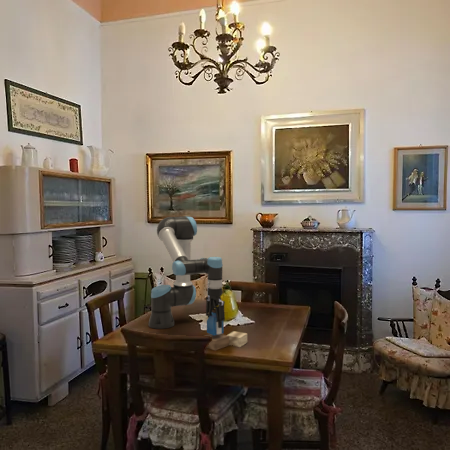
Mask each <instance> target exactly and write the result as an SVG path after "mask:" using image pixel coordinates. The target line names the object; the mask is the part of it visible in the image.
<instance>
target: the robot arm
mask: <svg viewBox="0 0 450 450" xmlns="http://www.w3.org/2000/svg"><path fill="white" fill-rule="evenodd" d="M156 228H157V229H156V234H157V237H158V239H159V240H160V241H162V242H163V245H164V247H165V249H166V250H167V253H168V254H169V256H170V258H171V260H172V265H171V269H172V273H173V275H175V281H174V282H173V285H172V286H171V285H170V284H161V285H157V286H154V287H153V288H152V289H151V290H150V291H151V293H150V297H151V298H150V300H151V301H150V302H151V304H150V305H151V314H150V317H149V320H148V327H149V328H151V329H155V330H157V329H159V330H160V329H161V330H163V329H169V328H172V327H174V326H175V320H174V317H173V313H172V308H173V307H179V306H180V307H181V306H187V305H192V304H194V302H195V301H196V298H197V290H196V289H197V288H196V286H195V285H194V283H193V282H192V281H191V275H199V274H200V275H201V274H202V275H203V274H207V287H208V288H207V296H206V297H205V302H206V304H205V316H206V317H207V319H208V318H209V316H212V309H215V310H216V315H217V321H216V334H221V333H222V321H225V319H226V317H225V315H226V313H225V300H222V298H221V296H223V258H222V257H220V256H210V257H208V258H207V257H202V258H199V259H198V258H197V259H191V252H192V251H191V250H192V245H191V244H192V243H191V242H192V241H193V240H194V237H195V236H196V235H197V233H198V225H197V221H196V220H195V218H193V217H192V216H167V217H165V218H163V219H161V220H160V221H159V223H158V225H157V227H156Z"/></svg>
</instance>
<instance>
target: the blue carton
mask: <svg viewBox="0 0 450 450" xmlns="http://www.w3.org/2000/svg"><path fill="white" fill-rule="evenodd" d="M216 321H217V315H216V310H215V308H214V309H212V316H209V318H208V317H207V320H206V333H207V334H211V335H218V334H216ZM224 321H225V320H224ZM224 321H222V333H221V334H223V335H224V331H225V330H224V329H225V328H224V326H225V324H224Z"/></svg>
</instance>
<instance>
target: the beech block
mask: <svg viewBox="0 0 450 450" xmlns="http://www.w3.org/2000/svg"><path fill="white" fill-rule="evenodd" d="M225 335H226V334H225ZM226 336H229V346H232V345H233V346H232V347H238V348H241V347H243V346H245V344H247V343H248V333H246V332H242V331H234V330H233V331H231V332H230V333H228V334H227V335H226Z"/></svg>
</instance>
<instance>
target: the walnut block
mask: <svg viewBox="0 0 450 450" xmlns="http://www.w3.org/2000/svg"><path fill="white" fill-rule="evenodd" d="M204 336H210V337H212V341H211V342H210V343H209V345H208V347H206V348H207V349H210V350H212V351H218V350H220V349H223V348H225V347H229V346H230V345H229V336H226V334H224V333H223V334H218V335H211V334H209V333H207V334H205V335H204Z"/></svg>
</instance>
